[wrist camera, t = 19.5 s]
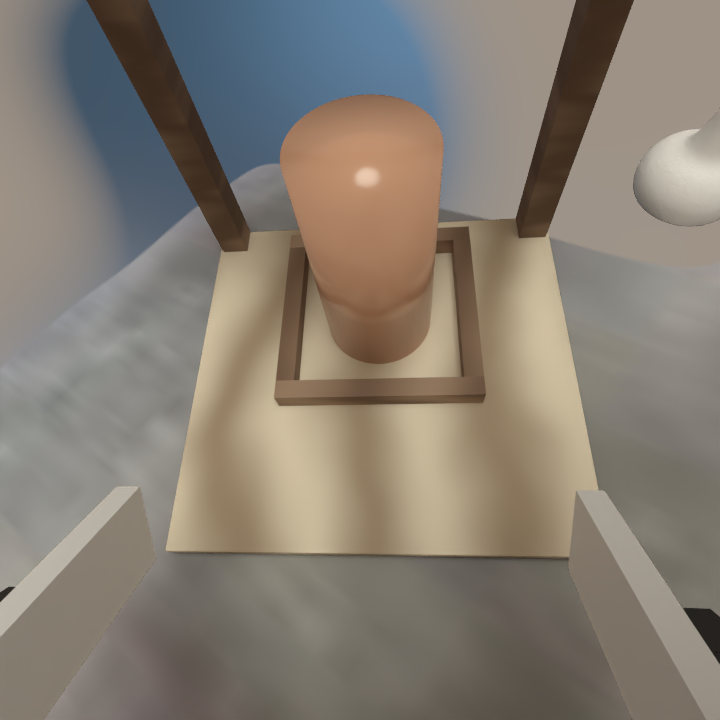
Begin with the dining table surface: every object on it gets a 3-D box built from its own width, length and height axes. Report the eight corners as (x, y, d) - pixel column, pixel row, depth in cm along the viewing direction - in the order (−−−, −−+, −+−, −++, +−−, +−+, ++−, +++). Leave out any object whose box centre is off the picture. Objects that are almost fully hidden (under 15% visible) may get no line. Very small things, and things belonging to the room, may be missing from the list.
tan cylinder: (428, 274, 29) (439, 88, 19) (432, 362, 27) (448, 206, 16) (331, 278, 30) (287, 100, 19) (326, 365, 27) (271, 215, 16)
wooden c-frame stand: (541, 228, 31) (760, -395, 12) (603, 558, 22) (1957, 293, 3) (229, 243, 33) (-33, -267, 14) (174, 552, 24) (-800, 372, 5)
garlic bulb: (652, 156, 34) (701, 35, 27) (750, 185, 31) (833, 59, 24) (610, 213, 32) (652, 99, 25) (711, 248, 29) (789, 132, 23)
